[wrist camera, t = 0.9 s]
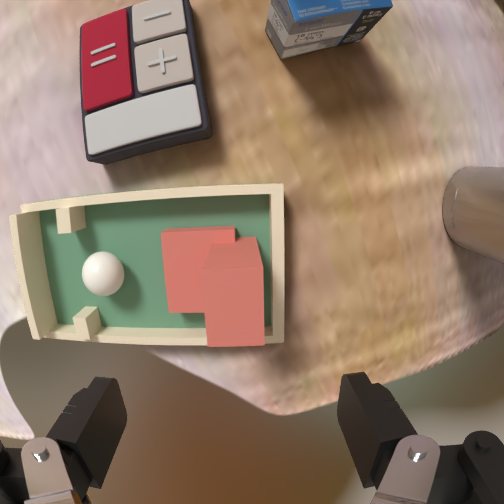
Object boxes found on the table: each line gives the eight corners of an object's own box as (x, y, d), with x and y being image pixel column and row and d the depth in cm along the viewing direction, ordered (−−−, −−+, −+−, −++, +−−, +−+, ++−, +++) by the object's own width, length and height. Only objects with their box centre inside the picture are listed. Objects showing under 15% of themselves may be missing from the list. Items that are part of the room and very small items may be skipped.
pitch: (279, 183, 28) (286, 184, 23) (280, 328, 31) (286, 353, 26) (36, 202, 28) (8, 207, 23) (56, 326, 31) (35, 345, 26)
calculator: (185, -15, 20) (208, 127, 23) (191, 8, 25) (213, 138, 27) (76, 21, 21) (82, 162, 23) (93, 38, 25) (102, 166, 27)
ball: (127, 246, 28) (111, 256, 24) (132, 287, 29) (118, 303, 25) (90, 248, 28) (71, 257, 24) (96, 287, 29) (78, 302, 25)
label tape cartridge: (279, 62, 26) (302, -6, 14) (263, 30, 25) (276, -46, 13) (361, 42, 25) (417, -15, 13) (344, 12, 24) (389, -54, 12)
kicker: (255, 224, 28) (262, 249, 18) (257, 301, 29) (264, 358, 19) (166, 228, 27) (128, 254, 18) (173, 303, 29) (145, 359, 19)
